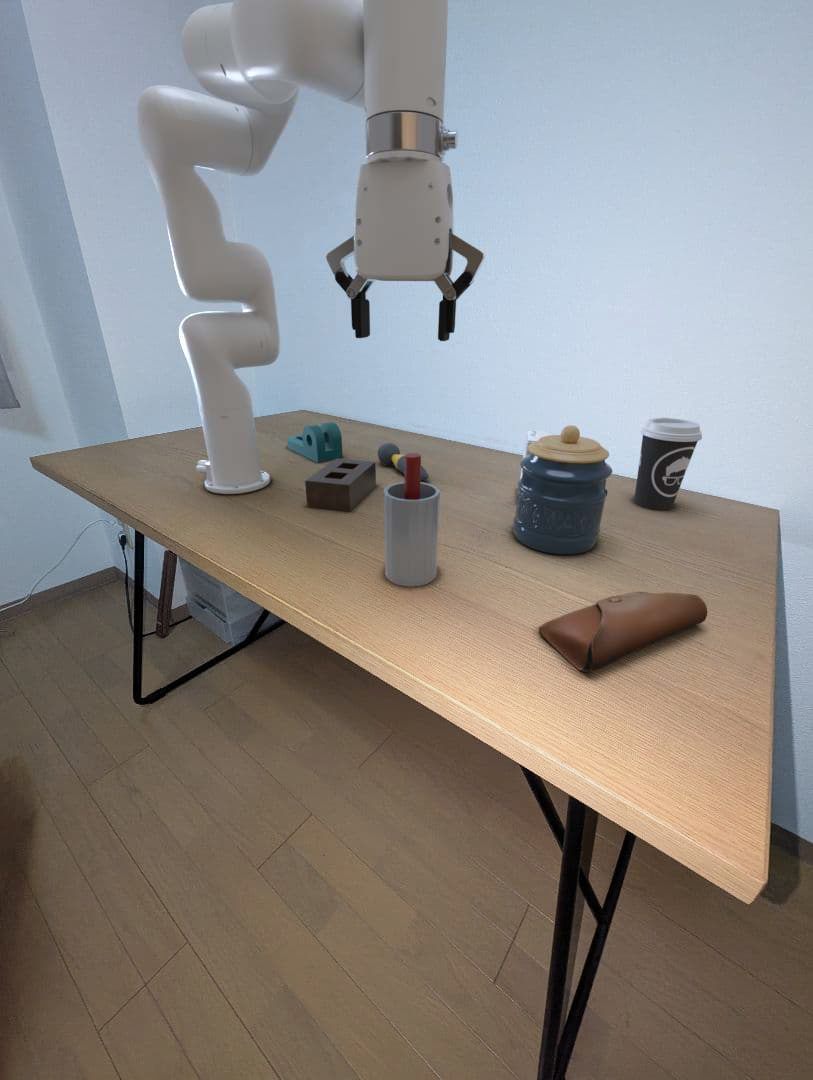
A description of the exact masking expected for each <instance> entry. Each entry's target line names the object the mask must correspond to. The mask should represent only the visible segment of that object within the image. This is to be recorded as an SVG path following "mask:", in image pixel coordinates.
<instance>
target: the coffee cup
mask: <svg viewBox="0 0 813 1080" xmlns="http://www.w3.org/2000/svg"><path fill="white" fill-rule="evenodd" d="M640 434H641V435H642V438H641V439H642V440H641V448H640V455H639V462H638V468H637V477H636V484H635V492H634V498H633V502H634V503H635V504H636V505H637V506H639V507H641V508H644V509H648V510H654V511H655V510H656V511H667V510H671V509H672V508H673V507H674V504H675V501H676V499H677V496H678V494H679V491H680V488H681V485H682V483H683V481H684V478H685V476H686V473H687V470H688V467H689V464H690V462H691V459H692V457H693V454H694V451H695V449H696V447H697V445H698V443H699V441H701V440H703V434H702V431H701V426H700V423H697V422H696V421H692V420H687V419H681V418H672V417H654V418H653V417H652V418H650V419H648V420H647V422H646V424H645V425H643V426H642V427H641V430H640Z"/></svg>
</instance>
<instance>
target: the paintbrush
mask: <svg viewBox="0 0 813 1080" xmlns="http://www.w3.org/2000/svg"><path fill="white" fill-rule="evenodd" d="M377 458H378V460H379V461H380V463H381V464H382V465H385V466H394V467H395V468H396V469H397V471H399V472H401V473H402V474H404V475H405V454H401V451H400V449H399V447H398V446H397V445H396V444H394V443H384V444H382V445H380V446H379V447H378V450H377ZM429 478H430V476H429V474H428V472H427V470H426V469H425V467H424V466H423V465H421V481H427V480H429Z"/></svg>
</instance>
